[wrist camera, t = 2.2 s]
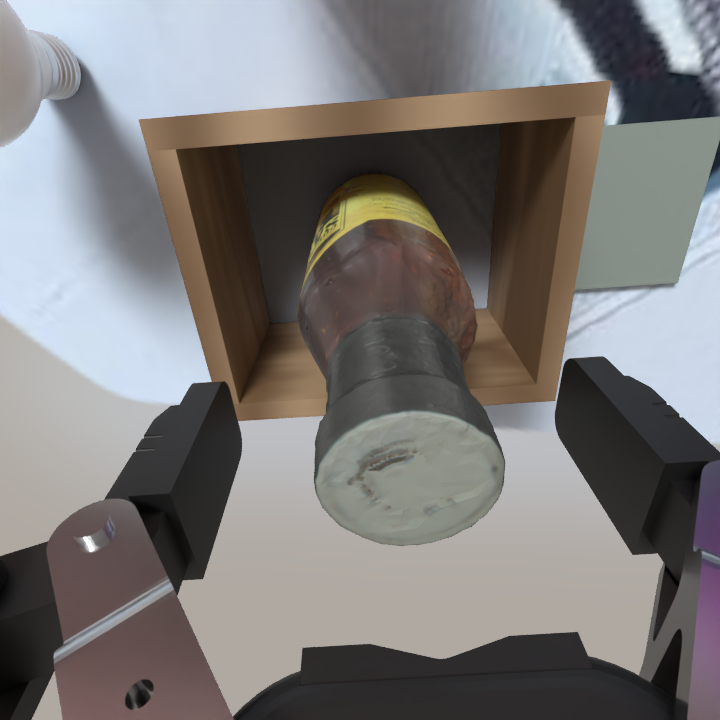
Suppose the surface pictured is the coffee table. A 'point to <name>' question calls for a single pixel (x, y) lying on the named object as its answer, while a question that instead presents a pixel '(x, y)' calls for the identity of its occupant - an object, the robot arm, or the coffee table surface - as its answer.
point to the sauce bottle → (395, 370)
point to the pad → (645, 201)
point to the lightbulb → (30, 73)
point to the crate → (508, 106)
